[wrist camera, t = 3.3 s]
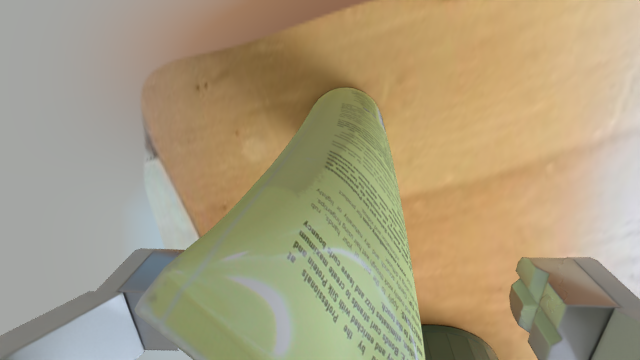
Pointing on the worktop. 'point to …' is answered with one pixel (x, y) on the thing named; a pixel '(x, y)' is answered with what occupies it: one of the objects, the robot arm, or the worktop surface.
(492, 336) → the worktop surface
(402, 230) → the tube
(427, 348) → the vessel
